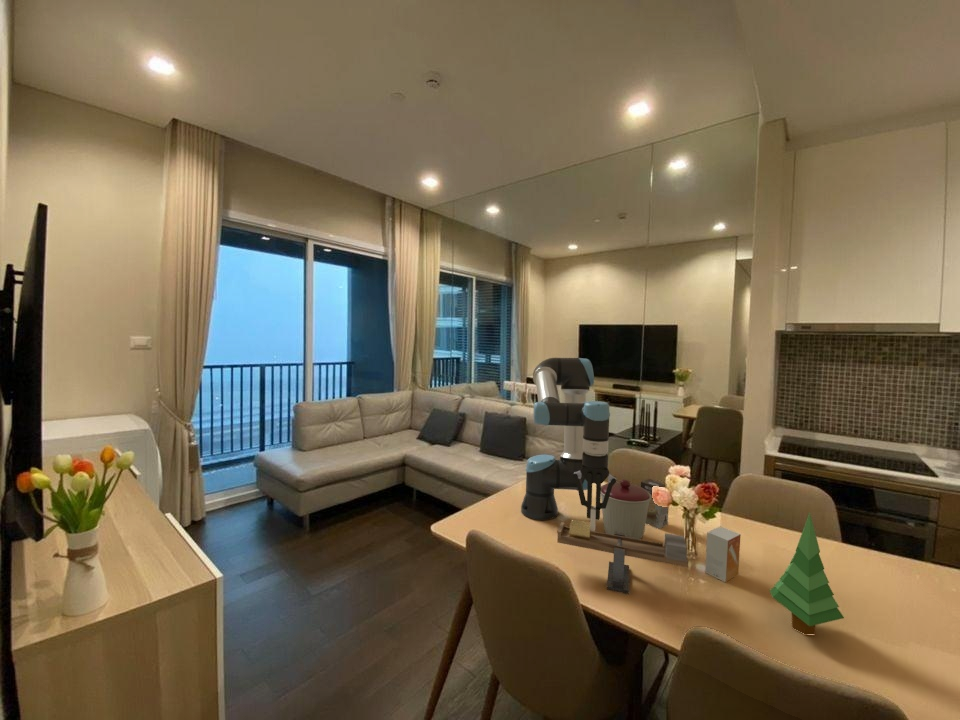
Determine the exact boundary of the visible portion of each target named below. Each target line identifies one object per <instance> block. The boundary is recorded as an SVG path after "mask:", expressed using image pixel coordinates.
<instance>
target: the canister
mask: <svg viewBox="0 0 960 720" xmlns="http://www.w3.org/2000/svg"><path fill="white" fill-rule="evenodd" d="M608 483H609V482H608ZM608 483H605V484H603V485H601V499H600V502H601V503H603V500H604V496H605V493H606V490H607V486H608ZM651 498H652V496H651V494H650V493H649V492H648V491H646V490H645V489H644V488H642V487H641V485H640V486H639V485H637V484H634V483H631V481H629V480H628V479H626V478H625V479H621V480H620V481H616V483H615V484H614V485H613V486H612V489H611V493H610V496H609V499H608V503H607V506H606V508H605V509H603V508H602V509H601V513H602V521H603V528H604V532H605V533H606V534H612V535H615V532H617V533H623V534H625V537H629V538H635V539H640V540H642V538H643V536H644V532H645V528H646V518H647V512H648V506H649V501H650V500H651Z"/></svg>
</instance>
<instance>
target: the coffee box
mask: <svg viewBox="0 0 960 720" xmlns="http://www.w3.org/2000/svg"><path fill="white" fill-rule="evenodd" d="M653 486H659V487H665V483H663V482H660V481H658V480H655V479H651V478H647V479H645V480H642V481H640V487H642V488H644V489H645V490H646V491H648V492H649V493H650V494H651V496H652V487H653ZM669 507H670V506H669ZM669 507H662V506H658V505H657V504H655V503H654V501H653V498H651V500H650V501H649V506H648V512H647V518H646V524H647V525H648V524H649V526H651V527H652V528H655V529H657V528H658V530H661V529H663V528H665V527H667V526H669V524H668V523H669ZM646 524H645V525H646ZM666 525H667V526H666ZM664 526H665V527H664ZM662 527H663V528H662ZM660 528H661V529H660Z"/></svg>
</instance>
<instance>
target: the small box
mask: <svg viewBox="0 0 960 720" xmlns="http://www.w3.org/2000/svg"><path fill="white" fill-rule="evenodd" d="M741 535H742V534H740V533H738V532H736V531H733V530H731V529H728V528H726V527H723V526H718V527H716V528H713V529H711V530H709V531H707V533H706V548H705V549H706V550H705V564H704V565H705V566H704V572H705V574H707V575H710V576H711V577H713V578H715V579H718V580H720V581H722V582H724V583H727V582H728V581H730V580H731V579H733V578H735V577H736V576H738V575H739V569H740V568H739V567H740V566H739V565H740V564H739V563H740V550H741V549H740V547H741Z"/></svg>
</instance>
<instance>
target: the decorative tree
mask: <svg viewBox="0 0 960 720" xmlns="http://www.w3.org/2000/svg"><path fill="white" fill-rule="evenodd" d="M806 518H807V519H806V521H805V524H804V527H803V530H802V533H801V535H800V538H799V541H798V543H797V546H796V548H795V553H794V554H793V557H792V559H791V561H790V562H789V565H788V566H787V568H786V569H785V571H784V573H783V574H782V575H781V576H780V577H779V580H778V581H777V582H776V583H775V584H774V587H772V588H771V589H769V592H770V595H771V597H772V598H773V599H774V600H775V601H777V603H779V604H780V605H782V606H783V607H784V608H785V609H787V610H788V611H789V612H790V613H791V622H792V623H791V627H793V628H794V629H796V630H798V631H800V632H802V633H804V634H815V635H816V626H817V625H821V624H826V623H829V622H833V621H838V620H842V619H845V616H844V615H843V614H842V612H841V611H840V610H839V608H840V606H839V604H838V603H837V601H836V599H835V598H834V595H835V593H834V592H833V590H832V589H831V586H830V585H829V583H830V581H829V579H828V577H827V574H826V573H825V566H824V563H823V561H822V557H821V555H820V552H821V549H820V546H819V543H818V538H817V535H816V531H815V527H814V524H813V519H812V514H811V512H809V513H808V515H807V517H806ZM793 628H792V629H793ZM794 629H793V630H794ZM796 630H795V631H796ZM798 631H797V632H798ZM800 632H799V633H800ZM802 633H801V634H802Z"/></svg>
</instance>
